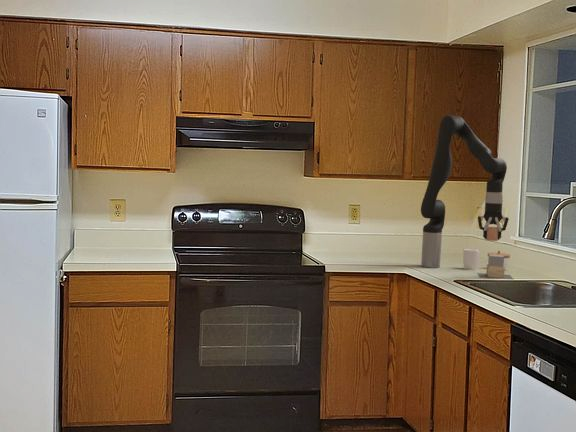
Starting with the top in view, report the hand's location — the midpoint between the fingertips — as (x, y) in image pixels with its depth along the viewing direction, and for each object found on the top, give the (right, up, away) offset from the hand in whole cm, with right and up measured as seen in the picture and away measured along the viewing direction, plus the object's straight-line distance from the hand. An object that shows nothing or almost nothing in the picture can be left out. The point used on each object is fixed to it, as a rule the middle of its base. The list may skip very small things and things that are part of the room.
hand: (491, 239), depth 342 cm
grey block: (+2, -12, +2) cm, 12 cm away
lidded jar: (+11, -16, +28) cm, 34 cm away
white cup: (-4, -16, +23) cm, 28 cm away
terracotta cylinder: (0, -1, 0) cm, 1 cm away
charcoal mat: (+2, -18, +2) cm, 18 cm away
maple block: (+2, -17, +2) cm, 17 cm away
